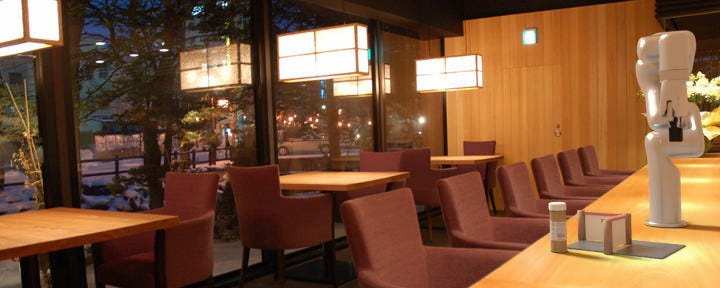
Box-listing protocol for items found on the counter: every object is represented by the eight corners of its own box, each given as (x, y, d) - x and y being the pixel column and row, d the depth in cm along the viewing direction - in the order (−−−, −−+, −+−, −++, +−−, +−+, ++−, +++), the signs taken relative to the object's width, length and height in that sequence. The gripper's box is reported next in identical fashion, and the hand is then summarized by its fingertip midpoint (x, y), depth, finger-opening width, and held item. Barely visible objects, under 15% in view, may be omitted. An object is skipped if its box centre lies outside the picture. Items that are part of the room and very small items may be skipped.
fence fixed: (579, 239, 182) (579, 209, 182) (633, 245, 172) (632, 213, 171) (555, 248, 170) (554, 216, 170) (611, 255, 160) (610, 221, 160)
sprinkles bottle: (566, 249, 168) (565, 201, 168) (568, 253, 164) (567, 203, 164) (549, 249, 169) (547, 201, 169) (550, 253, 165) (549, 203, 165)
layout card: (592, 237, 186) (592, 235, 186) (685, 246, 168) (685, 244, 168) (563, 248, 171) (563, 246, 171) (661, 259, 153) (661, 257, 153)
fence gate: (621, 242, 171) (620, 214, 171) (627, 243, 170) (626, 215, 170) (601, 248, 165) (601, 219, 165) (607, 249, 164) (606, 219, 163)
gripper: (668, 78, 180) (670, 140, 181) (651, 77, 169) (653, 143, 170) (696, 76, 175) (698, 140, 175) (680, 75, 164) (682, 143, 165)
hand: (675, 141), depth 173 cm, fingers closed
